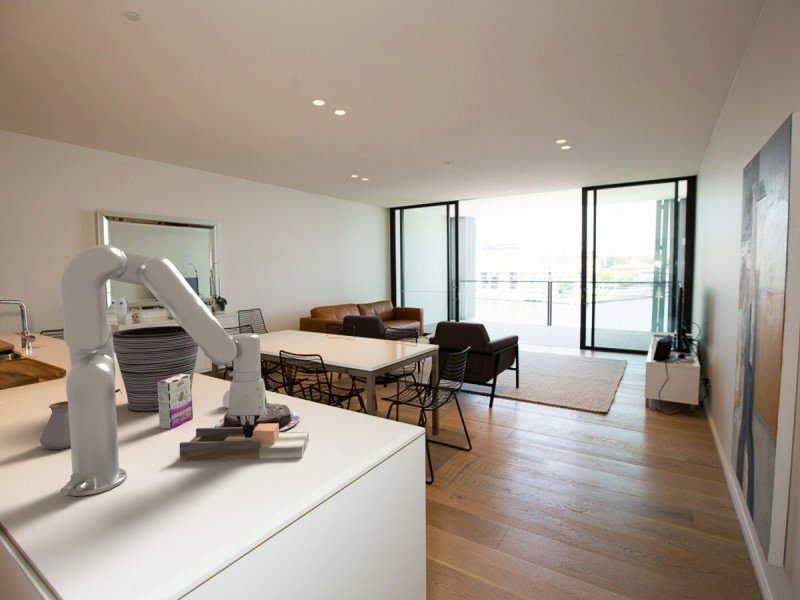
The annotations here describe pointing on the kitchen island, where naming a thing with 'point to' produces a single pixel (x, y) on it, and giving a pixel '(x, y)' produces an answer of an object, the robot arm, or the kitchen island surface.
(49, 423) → the coffee pot
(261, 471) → the kitchen island surface
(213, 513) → the kitchen island surface
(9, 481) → the kitchen island surface
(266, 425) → the block
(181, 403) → the candy bar box
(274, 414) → the chocolate cake
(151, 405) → the planter pot
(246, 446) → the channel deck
